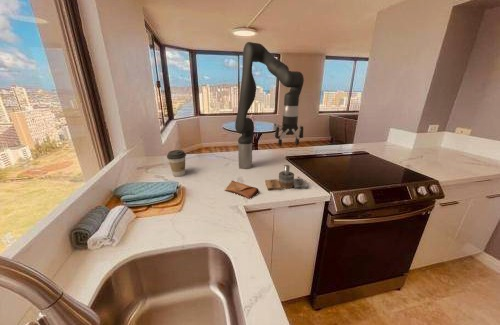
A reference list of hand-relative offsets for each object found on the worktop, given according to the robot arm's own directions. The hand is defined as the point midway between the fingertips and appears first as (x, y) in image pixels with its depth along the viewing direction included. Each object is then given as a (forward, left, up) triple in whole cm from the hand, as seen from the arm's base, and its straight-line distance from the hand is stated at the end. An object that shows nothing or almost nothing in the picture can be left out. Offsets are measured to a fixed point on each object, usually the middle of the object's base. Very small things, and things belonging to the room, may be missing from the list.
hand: (288, 145), depth 111 cm
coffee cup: (-64, +21, -24) cm, 71 cm away
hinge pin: (0, 0, -24) cm, 24 cm away
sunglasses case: (-26, -5, -24) cm, 36 cm away
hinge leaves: (0, 0, -24) cm, 24 cm away
